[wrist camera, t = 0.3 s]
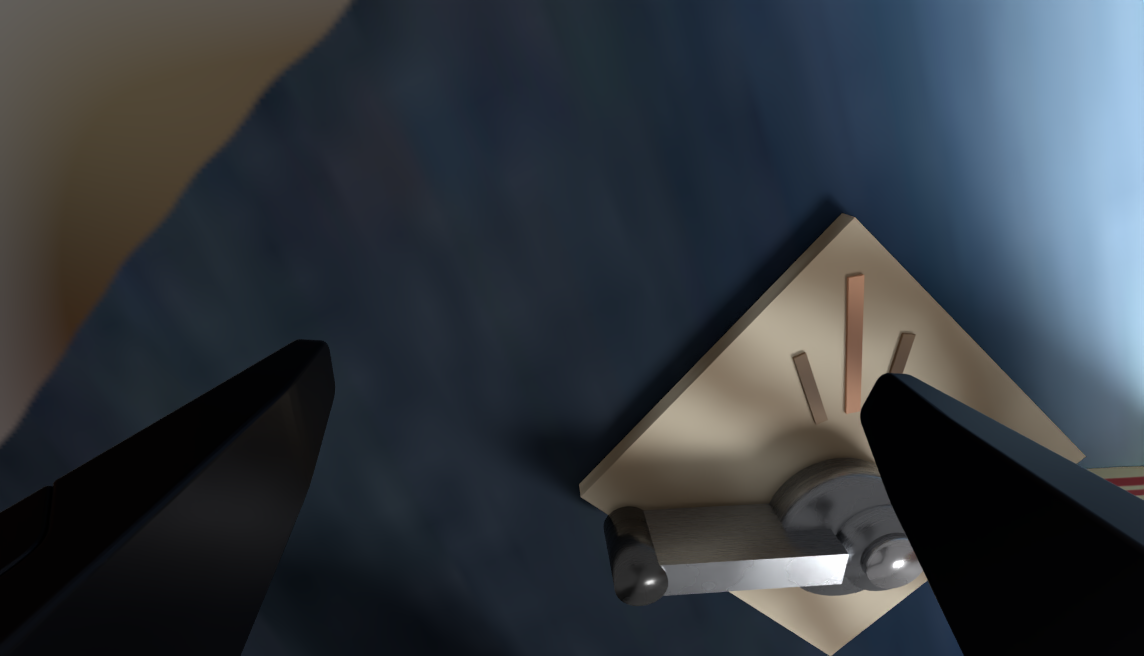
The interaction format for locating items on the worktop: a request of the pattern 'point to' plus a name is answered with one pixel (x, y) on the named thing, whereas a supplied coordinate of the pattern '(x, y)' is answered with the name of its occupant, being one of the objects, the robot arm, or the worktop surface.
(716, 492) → the level board
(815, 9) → the worktop surface
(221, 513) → the robot arm
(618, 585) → the grey metal handled piece
